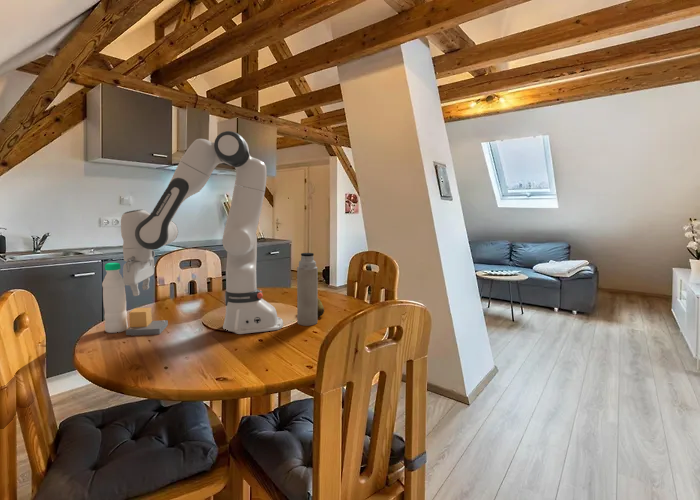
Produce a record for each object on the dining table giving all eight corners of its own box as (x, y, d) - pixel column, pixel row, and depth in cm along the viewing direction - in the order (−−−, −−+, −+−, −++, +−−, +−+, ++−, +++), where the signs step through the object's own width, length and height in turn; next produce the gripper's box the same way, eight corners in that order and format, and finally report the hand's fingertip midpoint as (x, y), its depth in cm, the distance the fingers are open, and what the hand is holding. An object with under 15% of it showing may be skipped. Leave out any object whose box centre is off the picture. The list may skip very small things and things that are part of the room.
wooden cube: (151, 321, 141) (151, 307, 141) (146, 326, 136) (145, 311, 135) (135, 322, 140) (135, 308, 140) (130, 327, 135) (129, 312, 134)
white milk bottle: (117, 334, 133) (112, 265, 130) (100, 332, 135) (95, 264, 132) (132, 328, 140) (128, 262, 137) (116, 326, 141) (112, 261, 138)
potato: (305, 319, 153) (305, 300, 152) (301, 310, 166) (301, 293, 165) (325, 318, 155) (325, 299, 154) (320, 309, 168) (320, 292, 167)
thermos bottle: (302, 318, 154) (302, 251, 151) (320, 320, 152) (320, 252, 148) (293, 324, 147) (293, 253, 143) (312, 326, 144) (312, 254, 141)
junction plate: (167, 325, 144) (167, 310, 143) (159, 334, 134) (158, 317, 133) (136, 326, 142) (136, 311, 141) (126, 335, 132) (125, 319, 131)
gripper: (136, 258, 125) (140, 298, 127) (156, 251, 145) (159, 286, 147) (115, 259, 124) (120, 300, 126) (138, 251, 144) (142, 287, 146)
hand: (141, 292), depth 137 cm, fingers open, 8 cm apart
